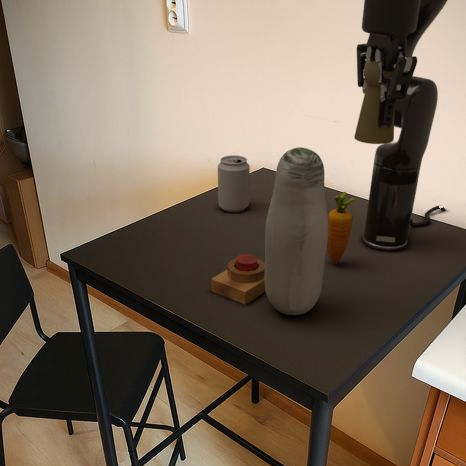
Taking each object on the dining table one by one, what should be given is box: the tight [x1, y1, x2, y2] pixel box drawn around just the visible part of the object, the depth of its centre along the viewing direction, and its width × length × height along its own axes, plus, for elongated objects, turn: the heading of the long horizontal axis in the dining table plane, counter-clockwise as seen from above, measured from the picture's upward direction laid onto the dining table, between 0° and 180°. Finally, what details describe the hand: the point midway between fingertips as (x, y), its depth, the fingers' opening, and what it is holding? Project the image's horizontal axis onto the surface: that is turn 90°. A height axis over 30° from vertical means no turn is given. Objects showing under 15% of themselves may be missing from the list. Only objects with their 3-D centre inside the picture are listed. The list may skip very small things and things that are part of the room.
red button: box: [236, 253, 258, 271], centre depth 109 cm, size 4×4×2 cm
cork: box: [353, 61, 395, 145], centre depth 88 cm, size 6×6×11 cm
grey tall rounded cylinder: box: [264, 147, 329, 316], centre depth 97 cm, size 10×10×28 cm
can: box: [217, 154, 251, 213], centre depth 141 cm, size 8×8×12 cm
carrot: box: [327, 191, 356, 266], centre depth 115 cm, size 5×5×15 cm
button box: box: [210, 258, 266, 305], centre depth 111 cm, size 8×11×4 cm
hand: (376, 122), depth 90 cm, fingers closed on cork, 4 cm apart
